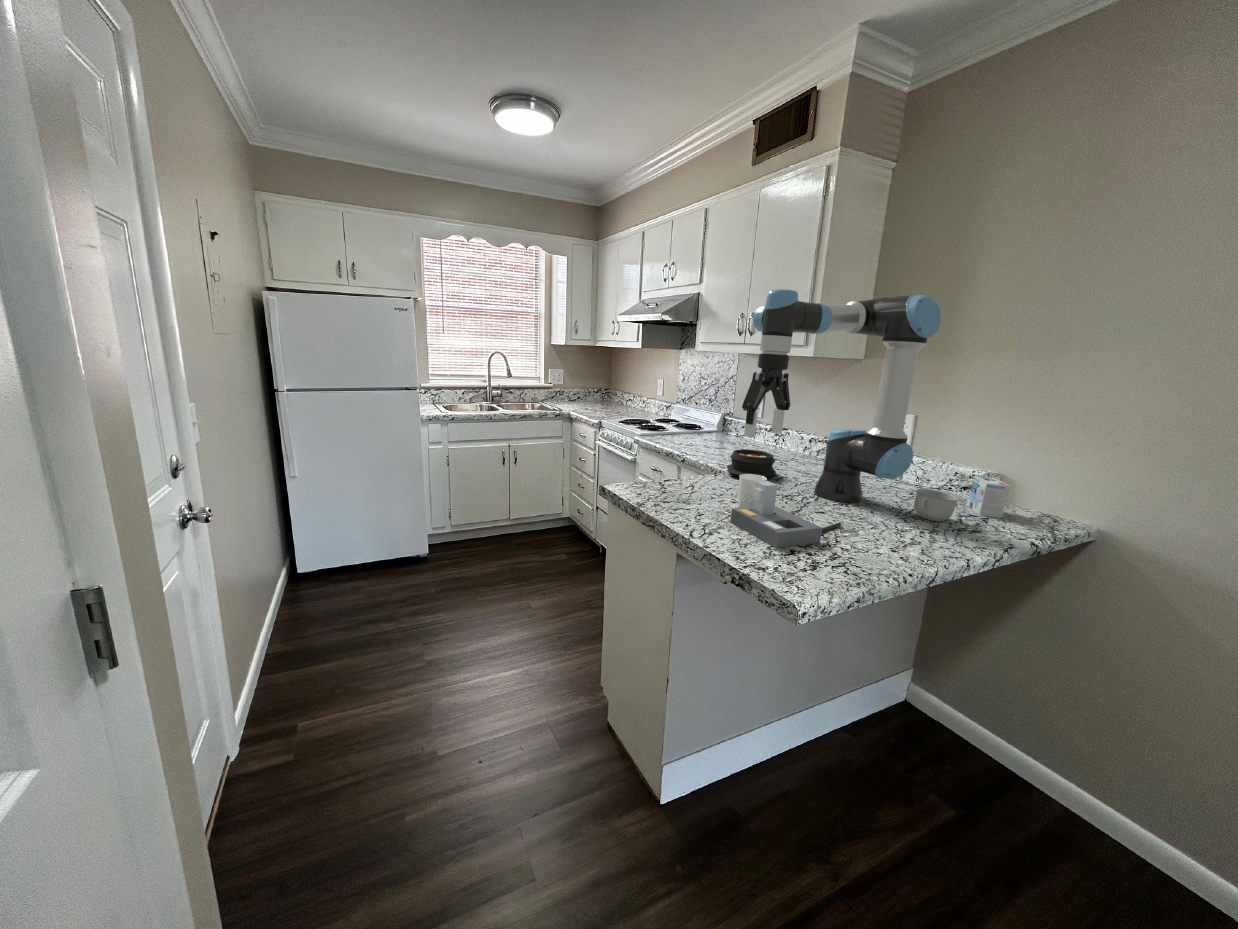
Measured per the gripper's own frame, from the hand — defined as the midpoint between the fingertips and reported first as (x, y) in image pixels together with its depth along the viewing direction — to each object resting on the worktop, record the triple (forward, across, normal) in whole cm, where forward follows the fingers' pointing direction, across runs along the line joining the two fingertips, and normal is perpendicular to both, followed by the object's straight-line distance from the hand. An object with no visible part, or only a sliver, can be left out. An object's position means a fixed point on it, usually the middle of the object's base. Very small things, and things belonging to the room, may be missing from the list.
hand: (763, 435), depth 135 cm
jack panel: (+25, +1, +7) cm, 26 cm away
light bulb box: (+24, -77, +40) cm, 90 cm away
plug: (+25, -1, +3) cm, 25 cm away
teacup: (+24, -51, +30) cm, 64 cm away
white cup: (+25, -11, -8) cm, 28 cm away
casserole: (+25, -51, -32) cm, 65 cm away
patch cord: (+25, -12, +15) cm, 31 cm away
